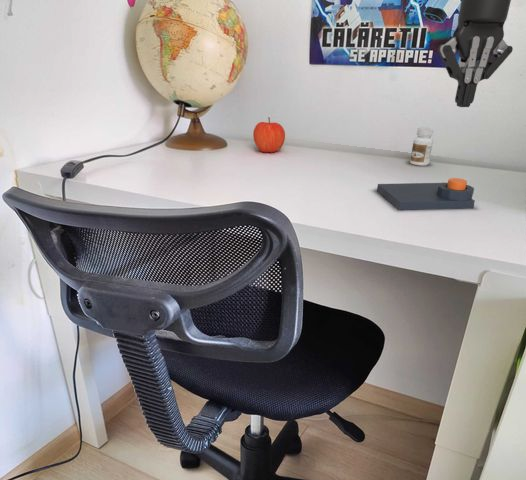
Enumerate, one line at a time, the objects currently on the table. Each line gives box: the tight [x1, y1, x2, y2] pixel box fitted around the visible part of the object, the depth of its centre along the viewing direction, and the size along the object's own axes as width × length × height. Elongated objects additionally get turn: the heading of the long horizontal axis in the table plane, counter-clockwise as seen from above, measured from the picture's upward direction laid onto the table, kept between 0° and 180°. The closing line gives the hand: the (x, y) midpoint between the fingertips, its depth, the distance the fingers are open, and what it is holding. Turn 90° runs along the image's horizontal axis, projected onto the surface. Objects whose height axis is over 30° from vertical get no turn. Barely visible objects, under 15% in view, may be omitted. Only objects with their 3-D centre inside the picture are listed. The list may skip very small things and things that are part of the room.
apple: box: [252, 117, 286, 153], centre depth 123 cm, size 8×8×8 cm
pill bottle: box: [409, 126, 434, 167], centre depth 115 cm, size 4×4×8 cm
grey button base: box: [376, 182, 476, 211], centre depth 92 cm, size 14×12×3 cm
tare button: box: [447, 177, 468, 190], centre depth 89 cm, size 3×3×2 cm
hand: (462, 106), depth 88 cm, fingers closed
